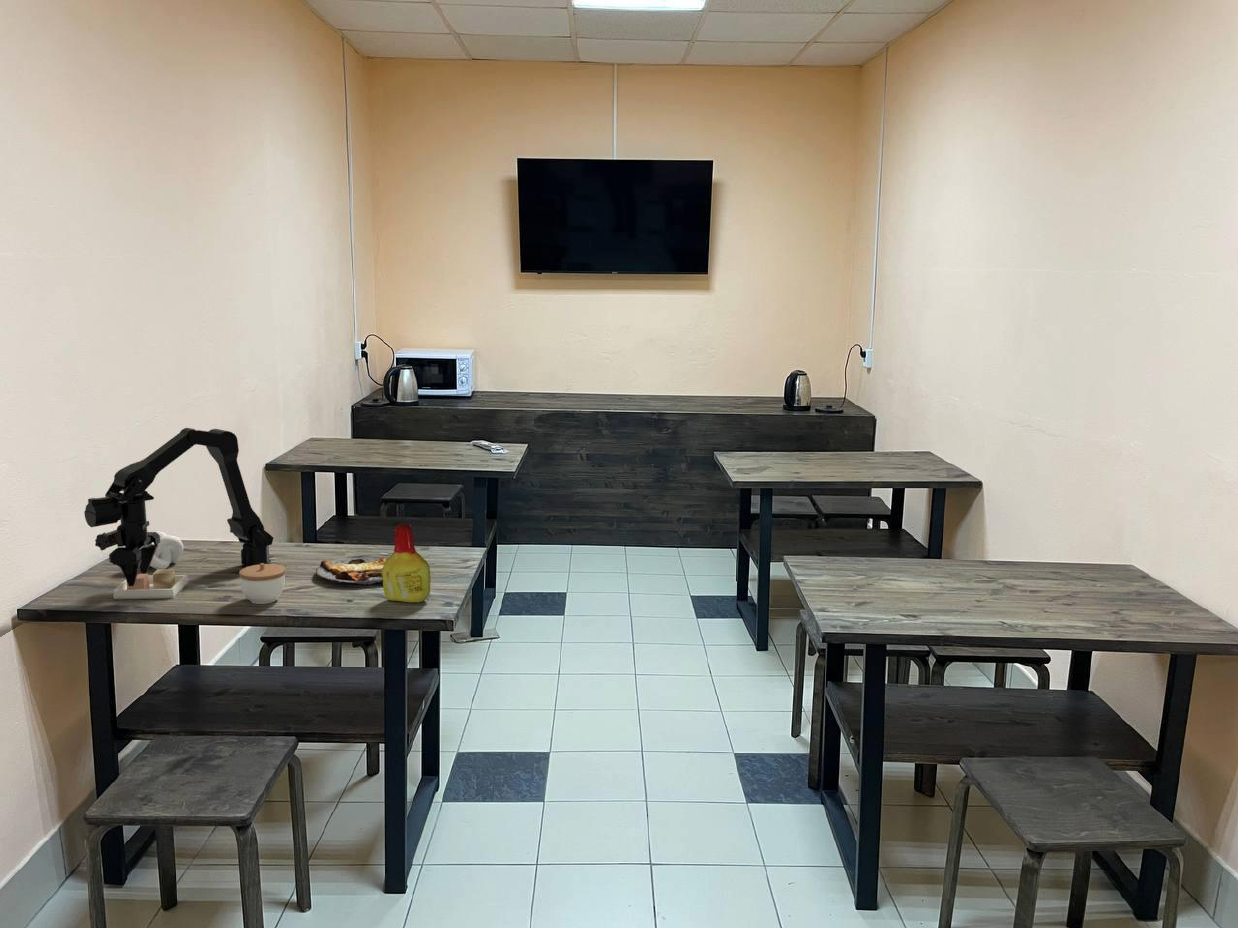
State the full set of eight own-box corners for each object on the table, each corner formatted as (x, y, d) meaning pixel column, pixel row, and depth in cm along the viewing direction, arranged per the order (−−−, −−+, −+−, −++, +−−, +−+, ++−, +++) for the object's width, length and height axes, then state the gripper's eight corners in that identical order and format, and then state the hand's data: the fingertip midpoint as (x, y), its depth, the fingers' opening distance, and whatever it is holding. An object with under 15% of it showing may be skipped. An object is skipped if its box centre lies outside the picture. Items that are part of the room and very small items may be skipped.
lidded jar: (243, 609, 232) (241, 572, 231) (238, 596, 242) (236, 560, 240) (289, 603, 237) (288, 567, 235) (282, 591, 246) (281, 555, 245)
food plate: (321, 591, 247) (321, 578, 246) (310, 567, 267) (310, 555, 267) (418, 584, 257) (418, 571, 256) (400, 561, 278) (400, 549, 277)
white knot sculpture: (169, 574, 258) (167, 541, 256) (124, 572, 258) (122, 540, 256) (188, 561, 269) (186, 530, 267) (146, 560, 269) (144, 529, 268)
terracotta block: (149, 588, 244) (148, 573, 243) (144, 593, 240) (143, 578, 239) (132, 589, 243) (131, 574, 242) (127, 594, 239) (126, 578, 238)
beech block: (175, 583, 248) (174, 568, 248) (170, 588, 244) (169, 573, 244) (158, 583, 248) (157, 569, 247) (153, 588, 244) (152, 573, 243)
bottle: (379, 603, 239) (377, 525, 235) (388, 595, 245) (386, 519, 242) (425, 606, 238) (424, 528, 234) (433, 598, 244) (432, 521, 240)
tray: (187, 582, 251) (187, 574, 250) (173, 597, 239) (173, 589, 239) (130, 583, 249) (130, 575, 248) (113, 599, 237) (113, 590, 237)
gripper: (112, 510, 246) (117, 569, 249) (83, 529, 228) (88, 592, 231) (158, 510, 247) (162, 568, 250) (133, 529, 229) (138, 591, 232)
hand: (137, 580), depth 241 cm, fingers open, 9 cm apart
